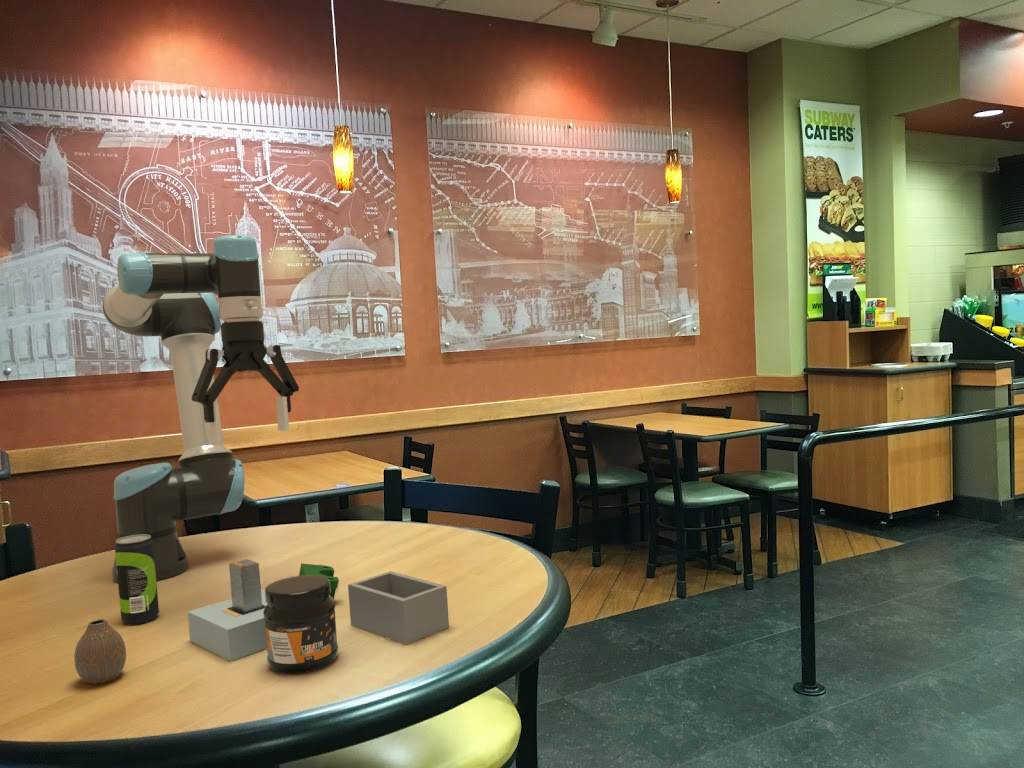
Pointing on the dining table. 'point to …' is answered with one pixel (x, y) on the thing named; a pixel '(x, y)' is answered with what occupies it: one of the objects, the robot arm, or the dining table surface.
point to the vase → (99, 653)
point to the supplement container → (300, 624)
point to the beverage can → (136, 579)
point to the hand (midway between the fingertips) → (250, 435)
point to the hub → (228, 629)
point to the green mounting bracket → (321, 574)
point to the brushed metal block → (245, 586)
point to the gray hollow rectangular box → (398, 606)
